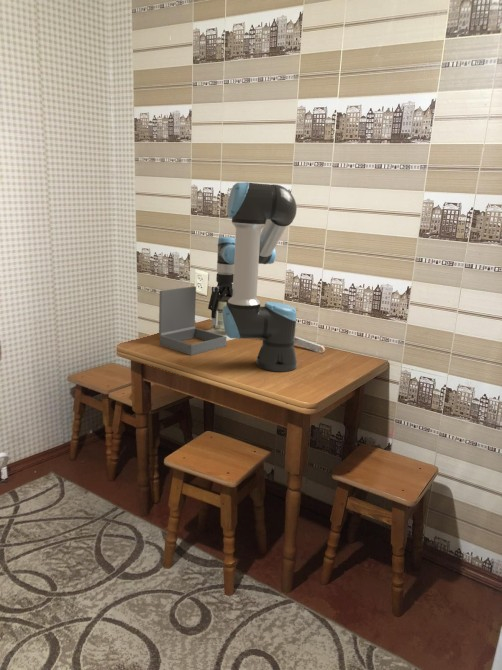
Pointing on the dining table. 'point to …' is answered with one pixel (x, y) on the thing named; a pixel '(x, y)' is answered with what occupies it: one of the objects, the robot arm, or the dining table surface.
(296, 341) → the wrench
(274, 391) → the dining table surface
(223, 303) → the coffee can
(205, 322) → the dining table surface
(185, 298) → the case
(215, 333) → the mat
